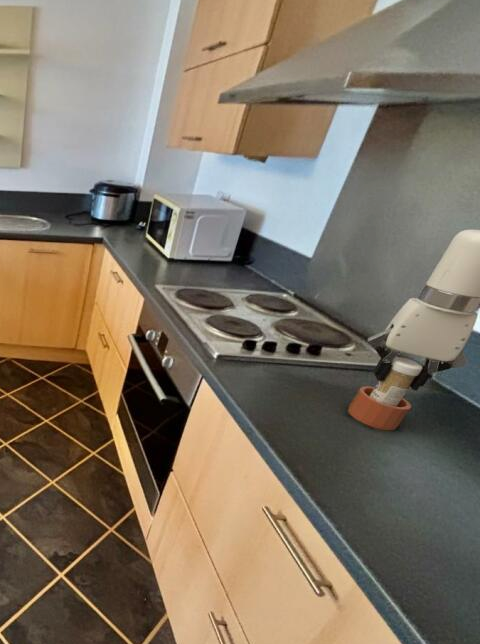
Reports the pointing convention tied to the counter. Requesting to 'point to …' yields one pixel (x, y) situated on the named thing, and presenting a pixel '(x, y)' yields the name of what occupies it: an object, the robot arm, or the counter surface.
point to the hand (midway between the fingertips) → (395, 381)
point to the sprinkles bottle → (396, 381)
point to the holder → (377, 410)
